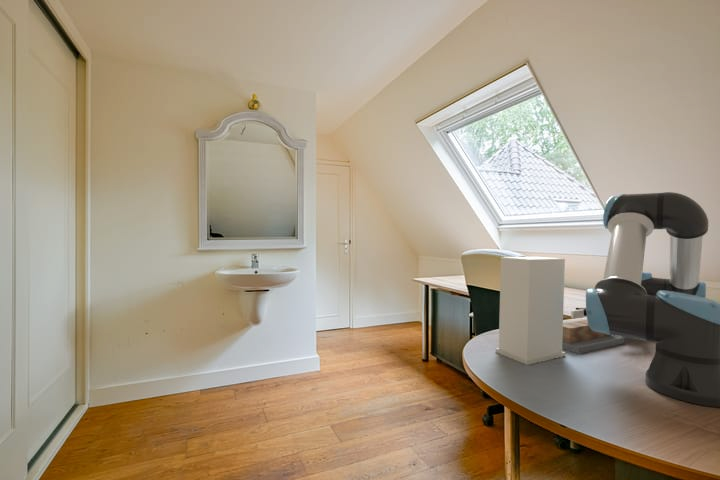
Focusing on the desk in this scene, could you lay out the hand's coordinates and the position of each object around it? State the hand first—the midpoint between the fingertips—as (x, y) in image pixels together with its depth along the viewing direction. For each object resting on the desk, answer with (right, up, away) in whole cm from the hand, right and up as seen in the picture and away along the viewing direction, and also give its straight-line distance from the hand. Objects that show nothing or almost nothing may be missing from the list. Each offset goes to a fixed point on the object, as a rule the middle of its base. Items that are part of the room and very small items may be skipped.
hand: (591, 318), depth 118 cm
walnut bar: (-4, -6, -2) cm, 7 cm away
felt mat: (-4, -8, -2) cm, 9 cm away
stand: (-29, -8, -14) cm, 33 cm away
